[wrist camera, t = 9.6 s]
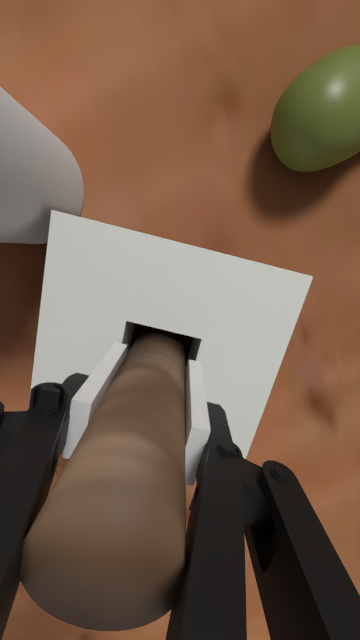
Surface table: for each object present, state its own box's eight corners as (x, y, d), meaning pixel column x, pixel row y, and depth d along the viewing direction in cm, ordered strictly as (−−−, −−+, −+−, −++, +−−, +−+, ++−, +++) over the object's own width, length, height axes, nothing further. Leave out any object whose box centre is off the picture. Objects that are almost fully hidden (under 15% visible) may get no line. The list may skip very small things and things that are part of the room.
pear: (285, 56, 13) (458, -30, 13) (245, 118, 18) (370, 55, 19) (324, 168, 14) (482, 87, 15) (275, 197, 19) (393, 136, 20)
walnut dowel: (127, 371, 20) (10, 614, 7) (137, 322, 19) (26, 491, 6) (177, 383, 20) (164, 643, 7) (190, 335, 19) (205, 528, 6)
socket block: (57, 400, 24) (25, 438, 19) (83, 219, 20) (51, 209, 15) (226, 438, 25) (236, 484, 20) (283, 270, 21) (313, 276, 16)
